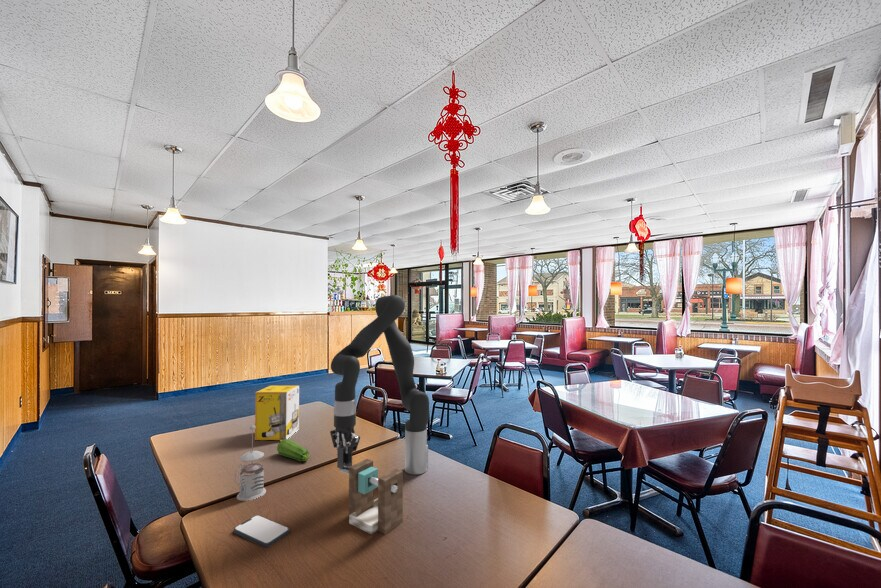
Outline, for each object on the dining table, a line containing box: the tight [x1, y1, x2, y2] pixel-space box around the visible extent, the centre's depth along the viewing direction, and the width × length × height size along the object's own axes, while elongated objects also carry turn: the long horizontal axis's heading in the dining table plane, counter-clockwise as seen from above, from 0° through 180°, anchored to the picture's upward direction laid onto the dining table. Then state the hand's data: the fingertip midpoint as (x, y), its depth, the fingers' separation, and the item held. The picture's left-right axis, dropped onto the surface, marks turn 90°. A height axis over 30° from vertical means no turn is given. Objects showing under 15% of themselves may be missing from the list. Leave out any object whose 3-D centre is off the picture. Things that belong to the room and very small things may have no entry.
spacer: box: [358, 466, 379, 494], centre depth 120 cm, size 3×6×6 cm, turn 144°
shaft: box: [336, 445, 398, 493], centre depth 121 cm, size 26×4×9 cm, turn 54°
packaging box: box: [254, 385, 300, 441], centre depth 195 cm, size 16×16×25 cm
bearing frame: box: [348, 458, 404, 536], centre depth 118 cm, size 16×13×16 cm
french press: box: [234, 424, 267, 502], centre depth 134 cm, size 10×12×25 cm
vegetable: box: [276, 438, 310, 462], centre depth 166 cm, size 7×7×20 cm
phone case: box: [233, 514, 291, 548], centre depth 111 cm, size 9×2×16 cm
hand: (344, 461), depth 127 cm, fingers closed on shaft, 3 cm apart
